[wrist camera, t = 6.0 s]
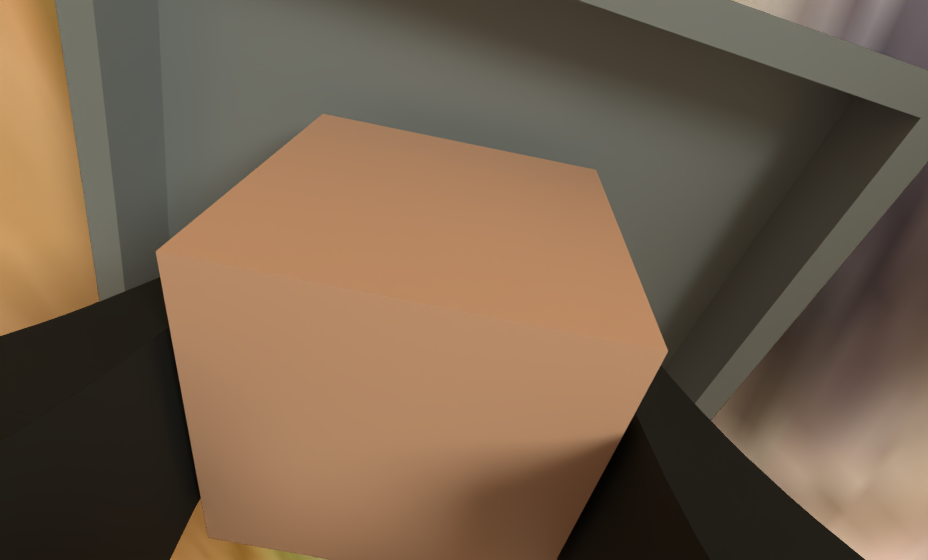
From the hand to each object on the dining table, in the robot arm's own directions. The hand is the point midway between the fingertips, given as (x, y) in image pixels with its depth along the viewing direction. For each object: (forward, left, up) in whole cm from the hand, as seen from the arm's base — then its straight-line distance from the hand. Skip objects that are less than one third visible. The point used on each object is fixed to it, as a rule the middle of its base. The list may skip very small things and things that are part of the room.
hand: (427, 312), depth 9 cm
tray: (0, 0, -3) cm, 3 cm away
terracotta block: (0, 0, -2) cm, 2 cm away
